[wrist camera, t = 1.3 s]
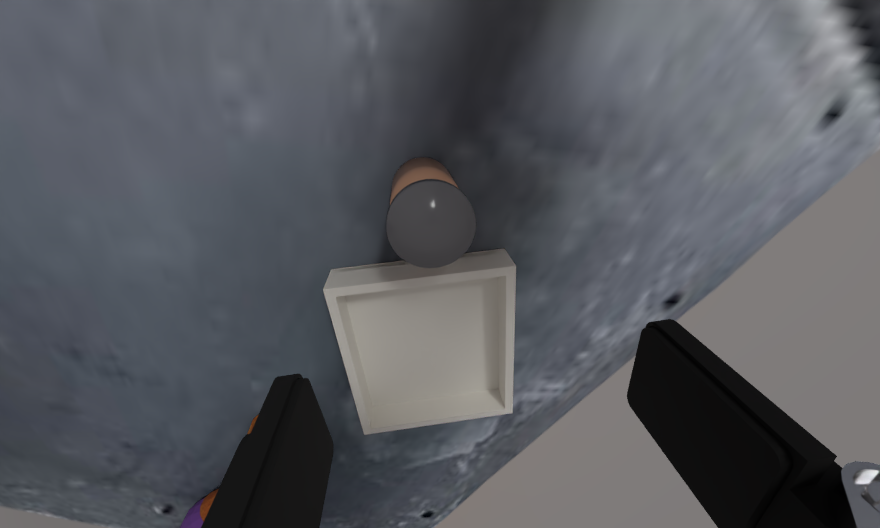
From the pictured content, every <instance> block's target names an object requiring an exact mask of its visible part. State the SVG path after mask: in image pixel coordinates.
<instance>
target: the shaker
mask: <svg viewBox="0 0 880 528" xmlns="http://www.w3.org/2000/svg"><path fill="white" fill-rule="evenodd" d="M386 231H387V237H388V240H389V243H390V245H391V247H392V248H393V250H394V251H395V252H396V254H397V255H398V256H399V257H401V258H402V259H403V260H404V261H406V262H408V263H410V264H412V265H414V266H418V267H422V268H438V267H442V266H446V265H448V264H451V263H453V262H454V261H456V260H457V259H459V258H460V257H461V256H462V255H463V254H464V253H465V252H466V251H467V250H468V249H469V247H470V245H471V244H472V241H473V239H474V236H475V232H476V217H475V213H474V210H473V207H472V206H471V204H470V202H469V201H468V199H467V197H466V196H465V195H464V193H463V192H462V191H461V190H460V189H459V188H458V186H457V184H456V183H455V181H454V180H453V178H452V176H451V175H450V173H449V171H448V170H447V169H446V167H445V166H444V165H443V164H441V163H440V162H438V161H436V160H434V159H432V158H427V157H418V158H414V159H411V160H409V161H407V162H405V163H404V164H403V165H402V166H400V168H399V169H398V170H397V172H396V173H395V175H394V178H393V181H392V189H391V199H390V207H389V210H388V214H387V221H386Z"/></svg>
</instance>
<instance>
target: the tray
mask: <svg viewBox="0 0 880 528" xmlns="http://www.w3.org/2000/svg"><path fill="white" fill-rule="evenodd" d="M323 291H324V295H325V298H326V302H327V305H328V309H329V313H330V316H331V320H332V323H333V327H334V330H335V334H336V337H337V341H338V344H339V348H340V351H341V355H342V358H343V362H344V365H345V369H346V372H347V376H348V379H349V383H350V387H351V390H352V394H353V397H354V401H355V404H356V408H357V411H358V415H359V418H360V422H361V425H362V429H363V432H364V435H367V434H374V433H381V432H387V431H394V430H401V429H408V428H415V427H421V426H428V425H435V424H442V423H448V422H455V421H462V420H469V419H476V418H482V417H489V416H496V415H503V414H510V413H513V373H514V333H515V292H516V265H515V263H514V262H513V260H512V259H511V257H510V256H509V254H508V253H507V252H506V250H505V249H504V248H503V249H495V250H487V251H478V252H470V253H464V254H463V255H462V256H461V257H460V258H459V259H457V260H456V261H454V262H453V263H451V264H448V265H446V266H442V267H438V268H422V267H418V266H414V265H412V264H410V263H408V262H406V261H404V260H403V261H395V262H387V263H378V264H370V265H362V266H353V267H345V268H337V269H331V271H330V273H329V276H328V278H327V281H326V283H325V286H324V288H323Z"/></svg>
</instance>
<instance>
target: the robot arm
mask: <svg viewBox="0 0 880 528" xmlns="http://www.w3.org/2000/svg"><path fill="white" fill-rule="evenodd" d="M627 399H628V403H629V405H630V407H631V408H632V410H633V411H634V412H635V414H636V415H637V417H638V418H639V419H640V421H641V422H642V423H643V425H644V426H645V428H646V429H647V430H648V432H649V433H650V434H651V436H652V437H653V439H654V440H655V441H656V443H657V444H658V446H659V447H660V448H661V449H662V451H663V452H664V454H665V455H666V457H667V458H668V459H669V461H670V462H671V463H672V465H673V466H674V468H675V469H676V470H677V472H678V473H679V474H680V476H681V477H682V479H683V480H684V481H685V482H686V484H687V485H688V487H689V488H690V490H691V491H692V492H693V494H694V495H695V497H696V498H697V499H698V500H699V502H700V503H701V505H702V506H703V507H704V509H705V510H706V512H707V513H708V514H709V516H710V517H711V519H712V520H713V521H714V523H715V524H716V525H717V527H718V528H880V465H877V464H874V463H869V462H856V461H855V462H852V463H848V464H846V465H845V466H844V467H843V468H842V467H840V466H839V465H838V464H837V463H836V462H834V460H835V458H836V457H837V456H836V455H835V454H834V453H832V452H831V451H830V450H829V449H828V448H826V447H825V446H824V445H823V444H821V443H820V442H819V441H818V440H816V438H814V437H813V436H812V435H811V434H810V433H809V432H807V431H806V430H805V429H804V428H803V427H801V426H800V425H799V424H798V423H797V422H795V421H794V420H793V419H792V418H790V417H789V416H788V415H787V414H786V413H785V412H783V411H782V410H781V409H780V408H779V407H777V406H776V405H775V404H774V403H773V402H772V401H770V400H769V399H768V398H767V397H765V396H764V395H763V394H762V393H761V392H760V391H758V390H757V389H756V388H755V387H754V386H752V385H751V384H750V383H749V382H747V381H746V380H745V379H744V378H743V377H742V376H740V375H739V374H738V373H737V372H735V371H734V370H733V369H732V368H731V367H730V366H729V365H727V364H726V363H725V362H724V361H723V360H721V359H720V358H719V357H718V356H717V355H715V354H714V353H713V352H712V351H711V350H709V349H708V348H707V347H706V346H705V345H703V344H702V343H701V342H700V341H699V340H698V339H696V338H695V337H694V336H693V335H692V334H690V333H689V332H688V331H687V330H686V329H684V328H683V327H682V326H681V325H680V324H678V323H677V322H676V321H674V320H671V319H668V320H661V321H654V322H649V323H648V324H647V325H646V328H644V329H643V330H642V332H641V335H640V340H639V344H638V349H637V353H636V357H635V362H634V366H633V370H632V375H631V379H630V384H629V388H628V392H627ZM332 457H333V441H332V438H331V435H330V433H329V430H328V428H327V425H326V422H325V420H324V417H323V415H322V412H321V409H320V407H319V404H318V402H317V399H316V396H315V394H314V391H313V389H312V386H311V384H310V381H309V379H308V378H304V379H303V378H302V376H301V375H300V374H293V375H286V376H280V377H277V378H275V380H274V381H273V384H272V386H271V388H270V390H269V393H268V395H267V397H266V399H265V402H264V404H263V406H262V408H261V411H260V413H259V415H258V417H257V420H256V422H255V424H254V426H253V429H252V431H251V433H250V434H247V435H246V436H245V437H244V438H243V439H242V441H241V442H240V444H239V446H238V448H237V450H236V452H235V455H234V457H233V459H232V461H231V463H230V465H229V468H228V470H227V472H226V474H225V476H224V478H223V481H222V483H221V485H220V487H219V489H218V492H217V494H216V496H215V498H214V500H213V502H212V505H211V507H210V509H209V511H208V513H207V515H206V518H205V520H204V522H203V524H202V526H201V528H319V526H320V521H321V515H322V510H323V505H324V500H325V494H326V489H327V484H328V478H329V473H330V468H331V463H332Z"/></svg>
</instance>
